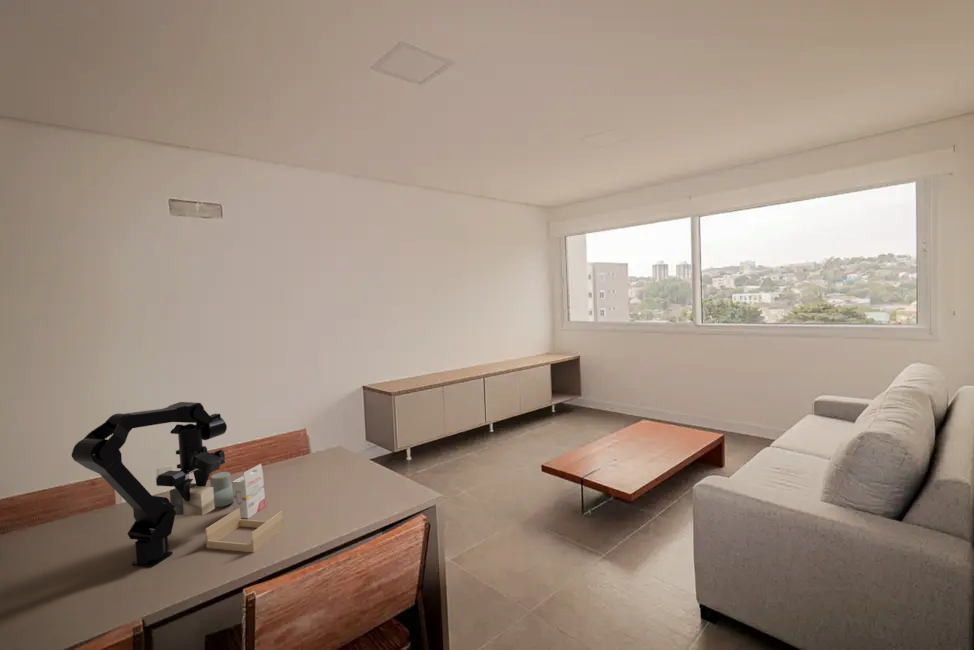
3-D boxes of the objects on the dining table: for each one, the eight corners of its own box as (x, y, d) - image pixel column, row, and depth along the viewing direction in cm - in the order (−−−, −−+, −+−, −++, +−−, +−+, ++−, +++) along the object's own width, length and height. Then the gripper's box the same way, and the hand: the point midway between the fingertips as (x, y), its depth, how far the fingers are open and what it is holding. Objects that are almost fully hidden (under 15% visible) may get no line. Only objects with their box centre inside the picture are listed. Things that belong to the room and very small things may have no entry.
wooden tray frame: (253, 552, 125) (252, 532, 124) (206, 547, 128) (205, 528, 127) (283, 529, 137) (282, 510, 137) (239, 525, 140) (238, 507, 140)
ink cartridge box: (252, 505, 153) (249, 462, 152) (265, 506, 152) (263, 462, 151) (233, 518, 145) (230, 472, 144) (247, 519, 144) (244, 472, 143)
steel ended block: (216, 507, 137) (214, 484, 137) (200, 516, 131) (199, 492, 131) (187, 505, 139) (185, 482, 139) (171, 514, 134) (169, 490, 133)
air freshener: (233, 508, 152) (231, 478, 151) (204, 513, 149) (202, 483, 148) (238, 495, 162) (236, 467, 161) (211, 499, 159) (209, 471, 158)
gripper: (187, 457, 123) (191, 514, 124) (238, 436, 141) (241, 486, 142) (152, 455, 125) (156, 511, 126) (207, 435, 144) (210, 484, 145)
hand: (194, 497), depth 135 cm, fingers closed on steel ended block, 4 cm apart
